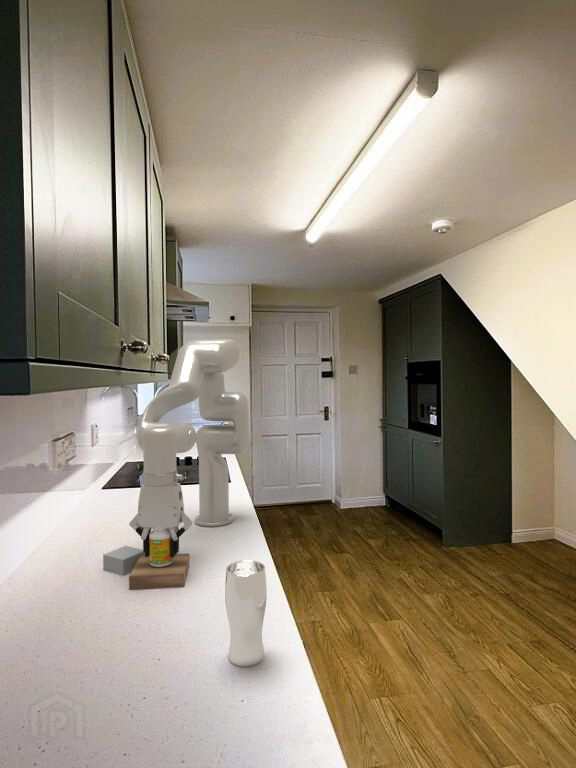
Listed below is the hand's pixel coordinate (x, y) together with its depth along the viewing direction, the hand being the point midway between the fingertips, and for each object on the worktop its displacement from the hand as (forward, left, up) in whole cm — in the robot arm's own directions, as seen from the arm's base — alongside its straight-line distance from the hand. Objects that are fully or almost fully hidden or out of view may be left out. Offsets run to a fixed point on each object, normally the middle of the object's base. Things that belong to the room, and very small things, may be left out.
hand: (161, 554), depth 110 cm
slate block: (-5, -11, -6) cm, 13 cm away
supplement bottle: (0, 0, -2) cm, 2 cm away
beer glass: (+30, +25, -5) cm, 40 cm away
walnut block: (0, 0, -5) cm, 5 cm away
